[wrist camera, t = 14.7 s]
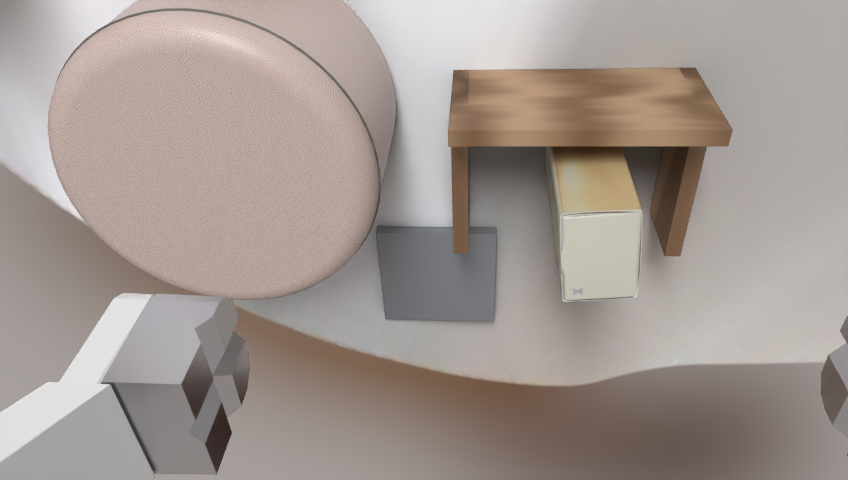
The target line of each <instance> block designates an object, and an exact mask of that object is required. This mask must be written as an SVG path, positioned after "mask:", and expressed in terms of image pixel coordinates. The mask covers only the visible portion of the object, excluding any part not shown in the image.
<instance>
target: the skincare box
mask: <svg viewBox="0 0 848 480" xmlns="http://www.w3.org/2000/svg"><path fill="white" fill-rule="evenodd" d="M545 156H546V174H547V186H548V194H549V202H550V209H551V217H552V225H553V233H554V241H555V249H556V258H557V266H558V273H559V281H560V289H561V296H562V301H563V302H572V301H595V300H616V299H627V298H636V297H637V296H638V290H639V283H640V274H641V259H642V227H643V212H642V208H641V205H640V202H639V199H638V196H637V193H636V190H635V186H634V184H633V180H632V178H631V174H630V171H629V168H628V165H627V162H626V159H625V156H624V153H623V149H622V146H545Z"/></svg>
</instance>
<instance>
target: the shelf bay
mask: <svg viewBox="0 0 848 480" xmlns="http://www.w3.org/2000/svg"><path fill="white" fill-rule="evenodd" d="M731 134H732V128H731V126H730V125H729V123H728V121H727V120H726V118H725V116H724V115H723V113H722V111H721V110H720V108H719V106H718V105H717V103H716V101H715V100H714V98H713V96H712V95H711V93H710V91H709V90H708V88H707V86H706V85H705V83H704V81H703V80H702V78H701V76H700V75H699V73H698V71H697V70H696V68H628V69H531V70H454V73H453V84H452V95H451V105H450V116H449V127H448V146H449V147H451V156H452V205H453V253H468V245H469V216H470V147H487V146H663V150H662V155H661V160H660V165H659V170H658V175H657V180H656V185H655V190H654V195H653V200H652V205H651V210H650V214H651V217H652V220H653V223H654V226H655V229H656V232H657V235H658V238H659V241H660V244H661V247H662V250H663V253H664V256H680V255H681V250H682V246H683V242H684V238H685V234H686V230H687V226H688V222H689V218H690V213H691V209H692V205H693V201H694V197H695V193H696V189H697V185H698V181H699V176H700V172H701V168H702V164H703V160H704V156H705V152H706V148H707V146H728V145H729V141H730V137H731Z"/></svg>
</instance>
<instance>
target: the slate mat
mask: <svg viewBox="0 0 848 480" xmlns="http://www.w3.org/2000/svg"><path fill="white" fill-rule="evenodd" d="M496 236H497V231H496V228H475V227H469V245H468V253H453V227H377V231H376V237H377V246H378V255H379V264H380V274H381V283H382V292H383V301H384V311H385V319H398V320H445V321H493V322H494V306H495V271H496Z"/></svg>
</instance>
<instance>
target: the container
mask: <svg viewBox="0 0 848 480" xmlns="http://www.w3.org/2000/svg"><path fill="white" fill-rule="evenodd" d="M395 119H396V100H395V90H394V86H393V81H392V76H391V73H390V70H389V68H388V65H387V62H386V59H385V57H384V55H383V53H382V51H381V49H380V47H379V45H378V43H377V42H376V40H375V38H374V37H373V35H372V33H371V32H370V31H369V29H368V28H367V27H366V25H365V24H364V23H363V21H362V20H361V19H360V18H359V17H358V16H357V15H356V14H355V12H354V11H353V10H352V9H351V8H350V7H349V6H348V5H347V4H345V3H344V2H343V1H342V0H137V1H136V2H135V3H133V4H132V5H131V6H130V7H128V8H127V9H126V10H125V11H123V12H122V13H121V14H120V15H118V16H117V17H116V18H115V19H113V20H112V21H111V22H110V23H108V24H107V25H105V26H104V27H102V28H100V29H98V30H97V31H96V32H94V33H93V34H92V35H90V36H89V37H88V38H86V39H85V40H84V41H83V42H82V43H81V44H80V45H79V46H78V47H77V48H76V49H75V50H74V51H73V53H72V54H71V56H70V57H69V58H68V60H67V61H66V63H65V64H64V66H63V68H62V70H61V72H60V74H59V76H58V79H57V82H56V85H55V88H54V91H53V94H52V97H51V102H50V107H49V114H48V134H49V144H50V150H51V154H52V159H53V163H54V166H55V169H56V172H57V175H58V178H59V180H60V182H61V184H62V186H63V188H64V190H65V192H66V194H67V196H68V197H69V199H70V201H71V203H72V204H73V206H74V207H75V209H76V210H77V211H78V213H79V214H80V216H81V217H82V218H83V220H84V221H85V222H86V223H87V224H88V225H89V226H90V228H91V229H92V230H93V231H94V232H95V233H96V234H97V235H98V236H99V237H100V238H101V239H102V240H103V241H104V242H105V243H106V244H107V245H109V246H110V247H111V248H112V249H114V250H115V251H116V252H117V253H118V254H120V255H121V256H122V257H124V258H125V259H127V260H128V261H129V262H131V263H132V264H134V265H135V266H137V267H139V268H140V269H142V270H143V271H145V272H147V273H149V274H151V275H153V276H155V277H157V278H158V279H160V280H163V281H165V282H167V283H170V284H172V285H174V286H177V287H180V288H183V289H186V290H189V291H192V292H196V293H200V294H204V295H208V296H219V297H227V298H230V299H236V300H257V299H269V298H276V297H281V296H285V295H289V294H293V293H296V292H299V291H302V290H305V289H307V288H309V287H311V286H314V285H316V284H318V283H320V282H322V281H323V280H325V279H327V278H328V277H330V276H331V275H333V274H334V273H335V272H337V271H338V270H339V269H340V268H341V267H343V266H344V265H345V264H346V263H347V262H348V261H349V259H350V258H351V257H352V256H353V255H354V254H355V253H356V252H357V250H358V249H359V248H360V247H361V245H362V244H363V242H364V241H365V239H366V238H367V236H368V234H369V232H370V230H371V228H372V226H373V223H374V220H375V217H376V215H377V211H378V206H379V201H380V191H381V186H382V182H383V177H384V173H385V168H386V164H387V159H388V155H389V150H390V146H391V142H392V137H393V133H394V126H395Z"/></svg>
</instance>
